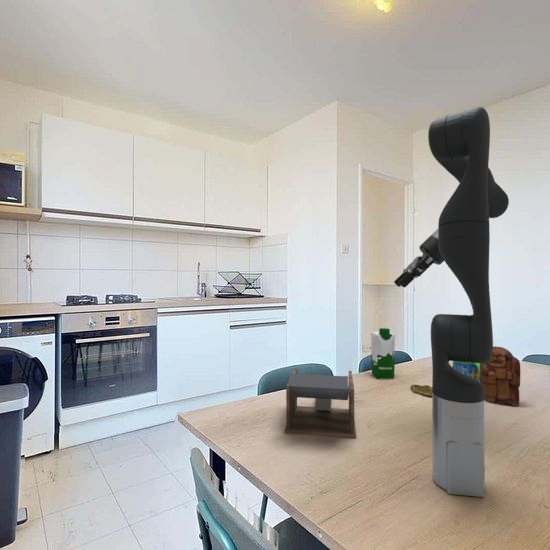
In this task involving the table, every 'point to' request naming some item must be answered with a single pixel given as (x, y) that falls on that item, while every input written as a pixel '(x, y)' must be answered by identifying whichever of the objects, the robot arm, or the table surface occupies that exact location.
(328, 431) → the trapdoor stand
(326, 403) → the grey stone pillar
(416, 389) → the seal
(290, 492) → the table surface
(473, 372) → the green blue printed box
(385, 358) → the milk carton
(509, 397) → the wooden figurine
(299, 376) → the trapdoor
